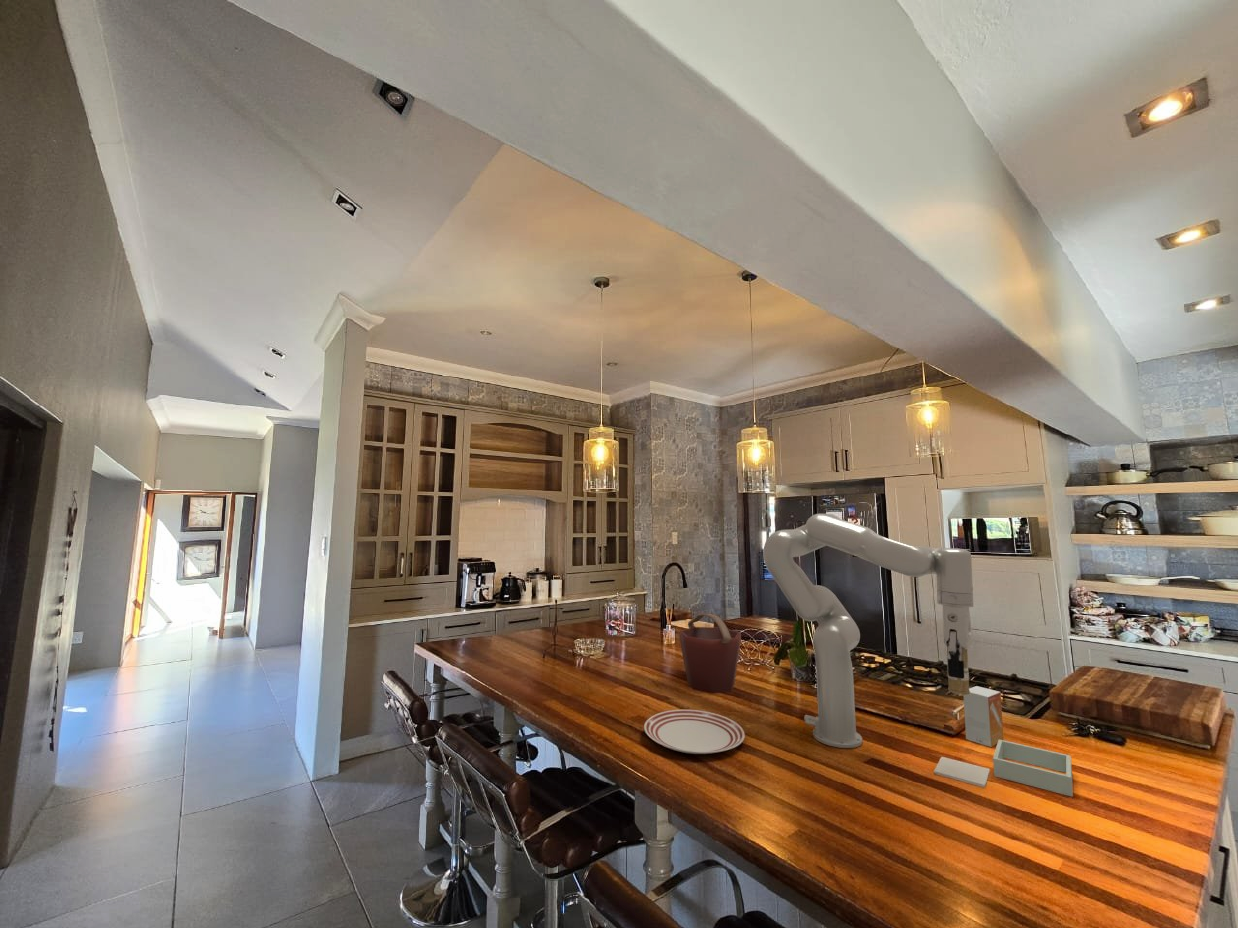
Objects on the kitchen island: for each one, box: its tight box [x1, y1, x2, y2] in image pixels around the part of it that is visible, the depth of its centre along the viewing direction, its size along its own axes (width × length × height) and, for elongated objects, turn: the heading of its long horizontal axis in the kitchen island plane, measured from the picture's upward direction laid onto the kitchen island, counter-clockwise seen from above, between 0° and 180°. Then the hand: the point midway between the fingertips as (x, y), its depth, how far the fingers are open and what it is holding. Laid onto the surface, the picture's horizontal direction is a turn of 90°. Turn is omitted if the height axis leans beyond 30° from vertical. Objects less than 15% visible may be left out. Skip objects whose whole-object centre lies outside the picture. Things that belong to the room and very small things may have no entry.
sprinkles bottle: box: [946, 641, 970, 696], centre depth 127 cm, size 5×5×13 cm
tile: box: [933, 756, 991, 789], centre depth 124 cm, size 10×10×1 cm
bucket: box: [678, 613, 742, 694], centre depth 190 cm, size 24×22×25 cm
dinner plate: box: [643, 709, 746, 755], centre depth 143 cm, size 28×27×3 cm
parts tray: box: [992, 740, 1074, 798], centre depth 123 cm, size 14×14×4 cm
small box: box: [962, 685, 1005, 748], centre depth 143 cm, size 8×6×13 cm
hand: (957, 673), depth 126 cm, fingers closed on sprinkles bottle, 4 cm apart
